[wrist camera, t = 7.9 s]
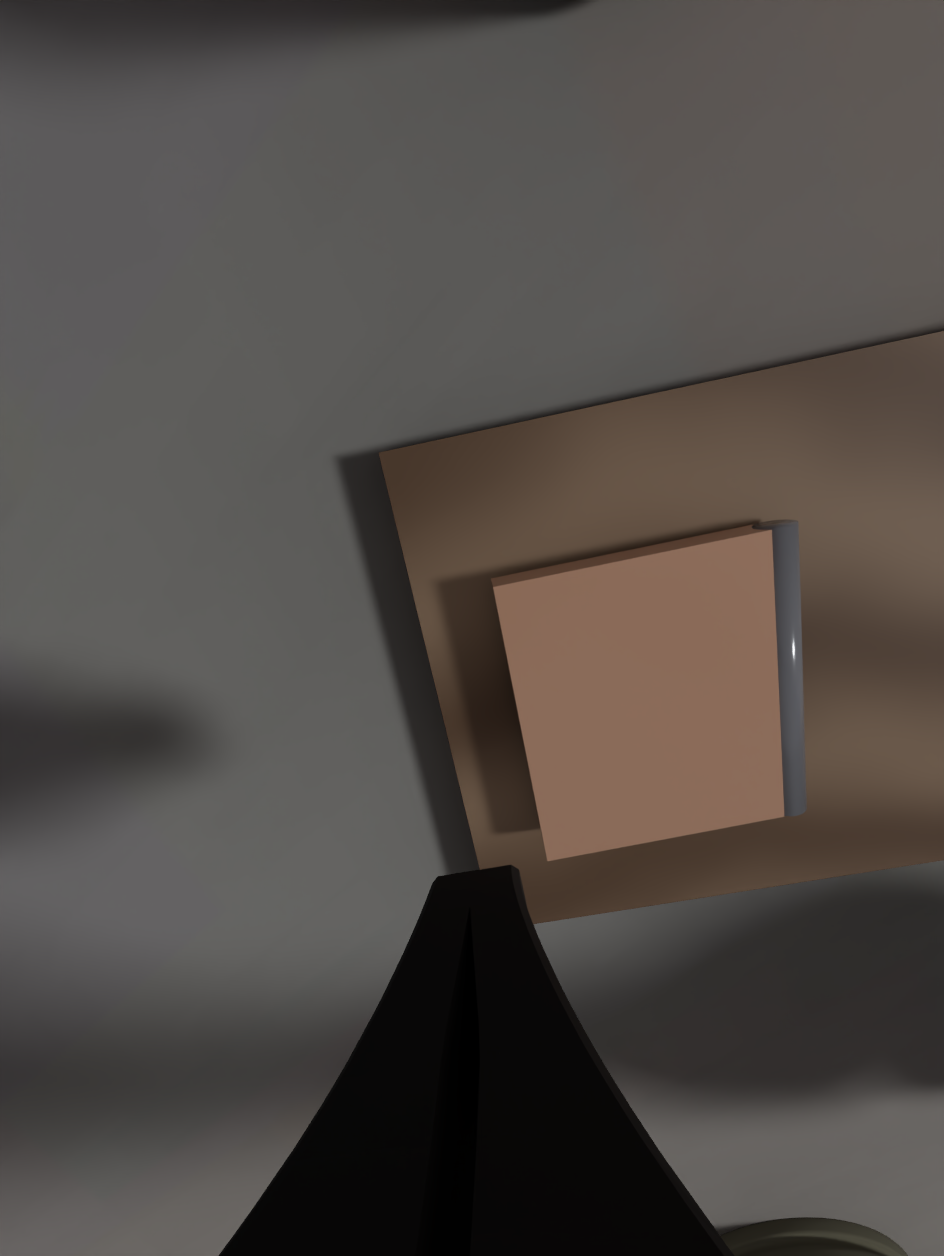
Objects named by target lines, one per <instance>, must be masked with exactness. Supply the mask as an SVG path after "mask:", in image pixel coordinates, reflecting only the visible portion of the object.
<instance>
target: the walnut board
mask: <svg viewBox="0 0 944 1256" xmlns="http://www.w3.org/2000/svg"><path fill="white" fill-rule="evenodd" d="M379 457H380V461H381V465H382V469H383V473H384V477H385V481H386V485H387V490H388V494H389V498H390V502H391V506H392V510H393V514H394V518H395V522H396V527H397V531H398V535H399V539H400V543H401V547H402V551H403V555H404V559H405V564H406V568H407V572H408V576H409V580H410V584H411V588H412V592H413V596H414V601H415V605H416V609H417V613H418V617H419V621H420V625H421V629H422V633H423V638H424V642H425V646H426V650H427V654H428V658H429V662H430V666H431V670H432V675H433V679H434V683H435V687H436V691H437V695H438V699H439V703H440V707H441V712H442V716H443V720H444V724H445V728H446V732H447V736H448V740H449V744H450V749H451V753H452V757H453V761H454V765H455V769H456V773H457V777H458V781H459V786H460V790H461V794H462V798H463V802H464V806H465V810H466V814H467V818H468V823H469V827H470V831H471V835H472V839H473V843H474V847H475V851H476V855H477V860H478V864H479V868H480V870H481V869H487V868H493V867H499V866H505V865H513V866H514V867H516V868H517V869H519V872H520V876H521V881H522V885H523V890H524V895H525V899H526V904H527V908H528V911H529V914H530V917H531V920H532V922H533V924H537V923H543V922H550V921H556V920H562V919H569V918H575V917H582V916H588V915H595V914H601V913H607V912H614V911H620V910H627V909H633V908H639V907H646V906H652V905H659V904H665V903H672V902H678V901H684V900H691V899H697V898H704V897H710V896H716V895H723V894H729V893H736V892H742V891H749V890H755V889H761V888H768V887H774V886H781V885H787V884H794V883H800V882H806V881H813V880H819V879H826V878H832V877H838V876H845V875H851V874H858V873H864V872H871V871H877V870H883V869H890V868H896V867H903V866H909V865H915V864H922V863H928V862H935V861H941V860H944V331H941V332H936V333H932V334H927V335H922V336H918V337H913V338H909V339H904V340H899V341H895V342H890V343H885V344H881V345H876V346H871V347H867V348H862V349H857V350H853V351H848V352H844V353H839V354H834V355H830V356H825V357H820V358H816V359H811V360H806V361H802V362H797V363H792V364H788V365H783V366H779V367H774V368H769V369H765V370H760V371H755V372H751V373H746V374H741V375H737V376H732V377H727V378H723V379H718V380H713V381H709V382H704V383H700V384H695V385H690V386H686V387H681V388H676V389H672V390H667V391H662V392H658V393H653V394H648V395H644V396H639V397H635V398H630V399H625V400H621V401H616V402H611V403H607V404H602V405H597V406H593V407H588V408H583V409H579V410H574V411H570V412H565V413H560V414H556V415H551V416H546V417H542V418H537V419H532V420H528V421H523V422H518V423H514V424H509V425H505V426H500V427H495V428H491V429H486V430H481V431H477V432H472V433H467V434H463V435H458V436H453V437H449V438H444V439H439V440H435V441H430V442H426V443H421V444H416V445H412V446H407V447H402V448H398V449H393V450H388V451H384V452H379ZM784 519H788V520H796V521H798V522H799V556H800V590H801V623H802V657H803V691H804V725H805V759H806V793H807V809H806V811H805V812H804V813H803V814H801V815H797V816H784V817H780V818H775V819H770V820H764V821H759V822H754V823H748V824H743V825H738V826H732V827H727V828H722V829H716V830H711V831H706V832H701V833H695V834H690V835H685V836H679V837H674V838H669V839H663V840H658V841H653V842H647V843H642V844H637V845H632V846H626V847H621V848H616V849H610V850H605V851H600V852H594V853H589V854H584V855H578V856H573V857H568V858H562V859H557V860H552V861H547V857H546V853H545V848H544V843H543V839H542V834H541V829H540V824H539V819H538V814H537V809H536V804H535V799H534V794H533V788H532V783H531V778H530V773H529V768H528V763H527V758H526V753H525V748H524V743H523V738H522V733H521V728H520V723H519V718H518V713H517V708H516V703H515V698H514V693H513V688H512V683H511V678H510V673H509V668H508V663H507V658H506V653H505V647H504V642H503V637H502V632H501V627H500V622H499V617H498V612H497V607H496V602H495V597H494V592H493V587H492V582H491V578H496V577H501V576H506V575H510V574H515V573H520V572H525V571H530V570H535V569H540V568H544V567H549V566H554V565H559V564H564V563H569V562H573V561H578V560H583V559H588V558H593V557H598V556H603V555H607V554H612V553H617V552H622V551H627V550H632V549H637V548H641V547H646V546H651V545H656V544H661V543H666V542H671V541H675V540H680V539H685V538H690V537H695V536H700V535H705V534H709V533H714V532H719V531H724V530H729V529H734V528H739V527H743V526H748V525H755V524H757V523H761V522H765V521H772V520H784Z"/></svg>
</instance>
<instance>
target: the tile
mask: <svg viewBox="0 0 944 1256" xmlns="http://www.w3.org/2000/svg"><path fill="white" fill-rule="evenodd" d="M491 582H492V587H493V592H494V597H495V602H496V607H497V612H498V617H499V622H500V627H501V632H502V637H503V642H504V647H505V653H506V658H507V663H508V668H509V673H510V678H511V683H512V688H513V693H514V698H515V703H516V708H517V713H518V718H519V723H520V728H521V733H522V738H523V743H524V748H525V753H526V758H527V763H528V768H529V773H530V778H531V783H532V788H533V794H534V799H535V804H536V809H537V814H538V819H539V824H540V829H541V834H542V839H543V843H544V848H545V853H546V857H547V861H552V860H557V859H562V858H568V857H573V856H578V855H584V854H589V853H594V852H600V851H605V850H610V849H616V848H621V847H626V846H632V845H637V844H642V843H647V842H653V841H658V840H663V839H669V838H674V837H679V836H685V835H690V834H695V833H701V832H706V831H711V830H716V829H722V828H727V827H732V826H738V825H743V824H748V823H754V822H759V821H764V820H770V819H775V818H780V817H784V816H797V815H801V814H803V813H804V812H805V811H806V809H807V793H806V759H805V725H804V691H803V657H802V623H801V590H800V556H799V522H798V521H796V520H788V519H784V520H772V521H765V522H761V523H757V524H755V525H748V526H743V527H739V528H734V529H729V530H724V531H719V532H714V533H709V534H705V535H700V536H695V537H690V538H685V539H680V540H675V541H671V542H666V543H661V544H656V545H651V546H646V547H641V548H637V549H632V550H627V551H622V552H617V553H612V554H607V555H603V556H598V557H593V558H588V559H583V560H578V561H573V562H569V563H564V564H559V565H554V566H549V567H544V568H540V569H535V570H530V571H525V572H520V573H515V574H510V575H506V576H501V577H496V578H491Z"/></svg>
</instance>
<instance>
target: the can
mask: <svg viewBox="0 0 944 1256" xmlns="http://www.w3.org/2000/svg"><path fill="white" fill-rule="evenodd" d="M720 1237H721V1238H722V1239H723V1241H724V1242H725V1244H726V1245H727V1246H728V1248H729V1249H730V1250H731V1252H732V1253H733V1254H734V1256H908V1255H907V1254H906V1252H905V1251H904V1250H903V1249H902V1248H901V1247H900V1246H899V1245H898V1244H897V1243H895V1242H894V1241H893V1240H891V1239H890V1238H888V1237H887V1236H885V1235H883V1234H882V1233H880V1232H878V1231H875V1230H873V1229H871V1228H868V1227H865V1226H862V1225H859V1224H856V1223H852V1222H847V1221H842V1220H836V1219H827V1218H788V1219H779V1220H772V1221H766V1222H762V1223H757V1224H753V1225H749V1226H746V1227H742V1228H739V1229H736V1230H734V1231H731V1232H728V1233H726V1234H724V1235H721V1236H720Z"/></svg>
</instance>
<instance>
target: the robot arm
mask: <svg viewBox="0 0 944 1256" xmlns="http://www.w3.org/2000/svg"><path fill="white" fill-rule="evenodd" d="M219 1256H734V1254H733V1253H732V1252H731V1250H730V1249H729V1248H728V1246H727V1245H726V1244H725V1242H724V1241H723V1239H722V1238H721V1237H720V1235H719V1234H718V1232H717V1231H716V1230H715V1228H714V1227H713V1225H712V1224H711V1223H710V1221H709V1220H708V1218H707V1217H706V1216H705V1214H704V1213H703V1211H702V1210H701V1209H700V1207H699V1206H698V1204H697V1203H696V1202H695V1200H694V1199H693V1197H692V1196H691V1195H690V1193H689V1192H688V1190H687V1189H686V1188H685V1186H684V1185H683V1183H682V1182H681V1181H680V1179H679V1178H678V1176H677V1175H676V1174H675V1172H674V1171H673V1170H672V1168H671V1167H670V1165H669V1164H668V1163H667V1161H666V1160H665V1158H664V1157H663V1155H662V1154H661V1153H660V1151H659V1150H658V1148H657V1147H656V1145H655V1144H654V1142H653V1140H652V1139H651V1137H650V1136H649V1134H648V1133H647V1131H646V1130H645V1128H644V1127H643V1125H642V1124H641V1122H640V1121H639V1119H638V1118H637V1116H636V1115H635V1113H634V1112H633V1110H632V1109H631V1107H630V1106H629V1104H628V1102H627V1101H626V1099H625V1097H624V1096H623V1094H622V1093H621V1091H620V1089H619V1088H618V1086H617V1085H616V1083H615V1081H614V1080H613V1078H612V1077H611V1075H610V1073H609V1072H608V1070H607V1068H606V1067H605V1065H604V1063H603V1062H602V1060H601V1058H600V1057H599V1055H598V1053H597V1052H596V1050H595V1048H594V1046H593V1045H592V1043H591V1041H590V1039H589V1038H588V1036H587V1034H586V1032H585V1031H584V1029H583V1027H582V1025H581V1023H580V1021H579V1020H578V1018H577V1016H576V1014H575V1012H574V1010H573V1008H572V1007H571V1005H570V1003H569V1001H568V999H567V997H566V995H565V993H564V991H563V989H562V987H561V985H560V983H559V981H558V979H557V977H556V975H555V973H554V971H553V968H552V966H551V964H550V962H549V960H548V958H547V956H546V953H545V951H544V949H543V947H542V945H541V942H540V940H539V938H538V935H537V933H536V930H535V928H534V925H533V922H532V920H531V917H530V914H529V911H528V908H527V904H526V899H525V895H524V890H523V885H522V881H521V876H520V872H519V869H517V868H516V867H514V866H513V865H505V866H499V867H493V868H487V869H481V870H475V871H468V872H462V873H456V874H450V875H444V876H438V877H437V878H436V879H435V881H434V882H433V883H432V886H431V889H430V891H429V894H428V896H427V899H426V902H425V904H424V907H423V909H422V911H421V914H420V916H419V919H418V921H417V923H416V926H415V928H414V930H413V933H412V935H411V937H410V939H409V942H408V944H407V946H406V948H405V951H404V953H403V955H402V957H401V959H400V961H399V963H398V965H397V967H396V970H395V972H394V974H393V976H392V978H391V980H390V982H389V984H388V986H387V988H386V990H385V992H384V994H383V996H382V998H381V1000H380V1002H379V1004H378V1006H377V1008H376V1010H375V1012H374V1014H373V1016H372V1017H371V1019H370V1021H369V1023H368V1025H367V1027H366V1028H365V1030H364V1032H363V1034H362V1036H361V1038H360V1040H359V1041H358V1043H357V1045H356V1047H355V1049H354V1051H353V1052H352V1054H351V1056H350V1058H349V1060H348V1062H347V1063H346V1065H345V1067H344V1069H343V1070H342V1072H341V1074H340V1075H339V1077H338V1079H337V1080H336V1082H335V1084H334V1085H333V1087H332V1089H331V1091H330V1092H329V1094H328V1095H327V1097H326V1099H325V1100H324V1102H323V1104H322V1105H321V1107H320V1109H319V1110H318V1112H317V1113H316V1115H315V1116H314V1118H313V1120H312V1121H311V1123H310V1124H309V1126H308V1127H307V1129H306V1131H305V1132H304V1134H303V1135H302V1137H301V1138H300V1140H299V1142H298V1143H297V1145H296V1146H295V1148H294V1149H293V1151H292V1152H291V1154H290V1155H289V1157H288V1158H287V1160H286V1161H285V1162H284V1164H283V1165H282V1167H281V1168H280V1170H279V1171H278V1173H277V1174H276V1176H275V1177H274V1178H273V1180H272V1181H271V1183H270V1184H269V1186H268V1187H267V1189H266V1190H265V1192H264V1193H263V1195H262V1196H261V1197H260V1199H259V1200H258V1202H257V1203H256V1205H255V1206H254V1208H253V1209H252V1210H251V1212H250V1213H249V1215H248V1216H247V1217H246V1219H245V1220H244V1222H243V1223H242V1224H241V1226H240V1227H239V1229H238V1230H237V1231H236V1233H235V1234H234V1235H233V1237H232V1238H231V1240H230V1241H229V1242H228V1244H227V1245H226V1246H225V1248H224V1249H223V1250H222V1252H221V1253H220V1254H219Z"/></svg>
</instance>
